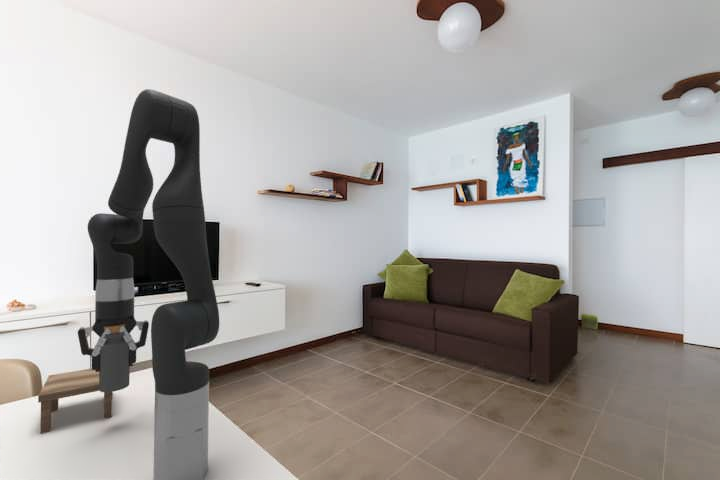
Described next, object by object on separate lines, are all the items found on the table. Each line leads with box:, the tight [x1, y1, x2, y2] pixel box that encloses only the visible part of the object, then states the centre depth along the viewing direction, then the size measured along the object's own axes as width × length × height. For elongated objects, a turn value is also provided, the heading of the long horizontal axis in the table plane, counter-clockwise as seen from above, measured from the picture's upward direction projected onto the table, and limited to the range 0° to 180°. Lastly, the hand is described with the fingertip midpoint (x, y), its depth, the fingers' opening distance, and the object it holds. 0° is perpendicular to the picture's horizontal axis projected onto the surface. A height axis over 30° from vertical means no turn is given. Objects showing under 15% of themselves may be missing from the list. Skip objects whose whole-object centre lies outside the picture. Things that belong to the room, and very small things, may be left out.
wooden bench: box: [37, 368, 114, 434], centre depth 86 cm, size 14×14×9 cm
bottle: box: [98, 324, 131, 393], centre depth 80 cm, size 6×6×15 cm
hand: (114, 367), depth 80 cm, fingers closed on bottle, 6 cm apart
